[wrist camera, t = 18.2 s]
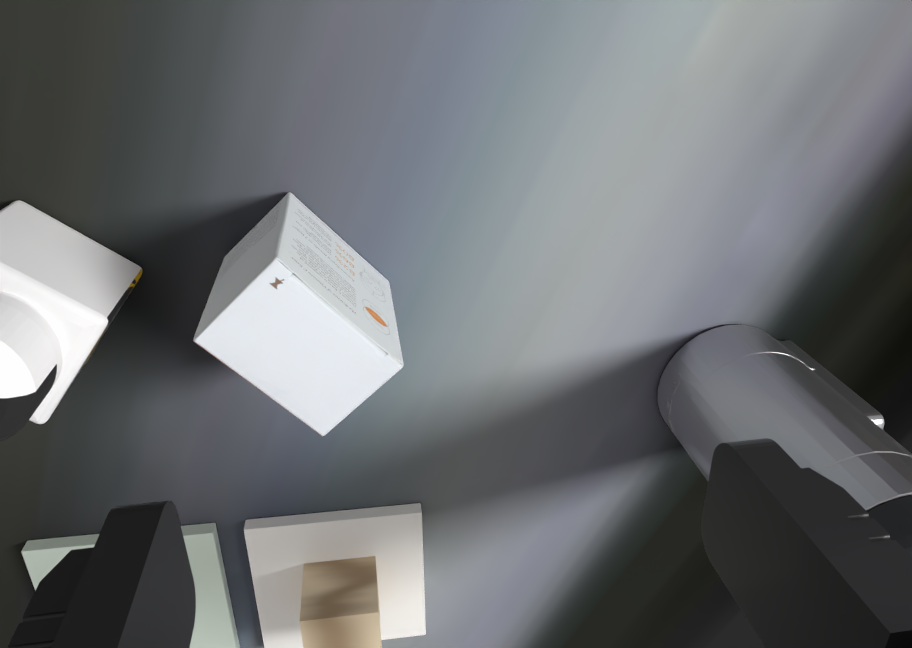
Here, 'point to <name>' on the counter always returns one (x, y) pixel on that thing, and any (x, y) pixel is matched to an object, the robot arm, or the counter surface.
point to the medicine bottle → (51, 310)
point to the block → (340, 604)
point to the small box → (302, 317)
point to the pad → (335, 538)
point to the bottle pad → (214, 612)
